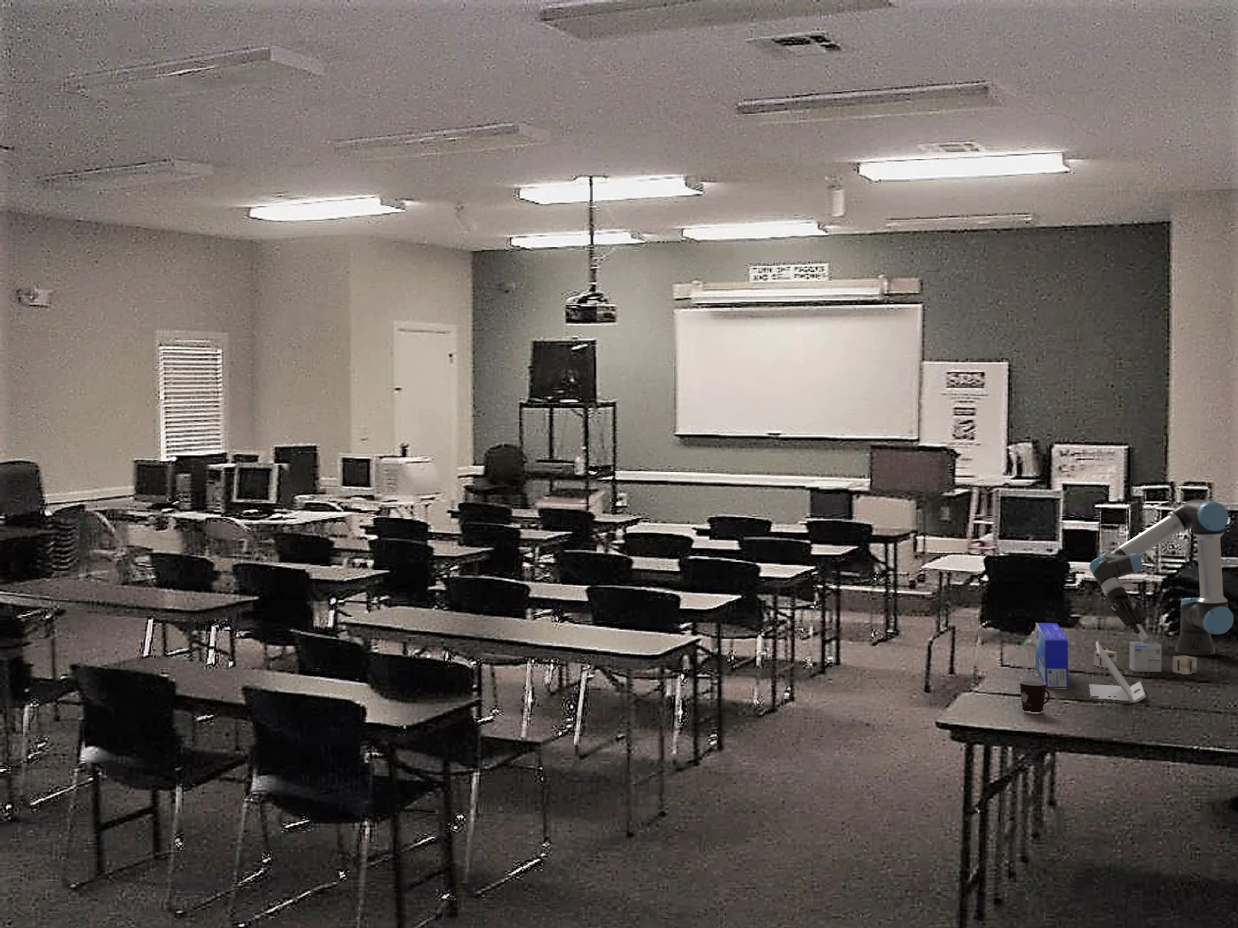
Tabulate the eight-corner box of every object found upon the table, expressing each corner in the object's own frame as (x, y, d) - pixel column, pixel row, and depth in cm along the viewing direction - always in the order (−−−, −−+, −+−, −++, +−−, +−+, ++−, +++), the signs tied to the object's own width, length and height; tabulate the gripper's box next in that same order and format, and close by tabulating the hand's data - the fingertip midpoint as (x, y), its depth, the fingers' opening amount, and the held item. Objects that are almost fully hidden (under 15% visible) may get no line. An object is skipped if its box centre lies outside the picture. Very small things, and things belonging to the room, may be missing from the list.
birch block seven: (1105, 664, 536) (1105, 649, 535) (1116, 667, 530) (1116, 652, 530) (1093, 665, 533) (1093, 650, 533) (1104, 668, 528) (1104, 653, 527)
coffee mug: (1016, 709, 455) (1016, 679, 455) (1041, 709, 455) (1042, 680, 454) (1025, 717, 443) (1026, 687, 443) (1051, 717, 443) (1052, 687, 443)
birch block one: (1184, 670, 524) (1184, 655, 524) (1196, 673, 518) (1197, 658, 518) (1172, 671, 522) (1172, 656, 521) (1184, 674, 516) (1184, 659, 516)
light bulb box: (1156, 668, 527) (1157, 641, 526) (1162, 672, 520) (1162, 644, 520) (1128, 668, 528) (1129, 640, 527) (1133, 671, 521) (1134, 644, 521)
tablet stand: (1090, 700, 471) (1091, 651, 470) (1088, 686, 495) (1089, 640, 494) (1146, 703, 466) (1147, 654, 465) (1141, 689, 489) (1142, 642, 489)
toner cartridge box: (1034, 668, 527) (1035, 622, 526) (1057, 669, 525) (1058, 622, 524) (1044, 689, 489) (1045, 638, 488) (1068, 690, 487) (1069, 639, 486)
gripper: (1122, 596, 544) (1152, 644, 529) (1097, 598, 539) (1126, 646, 524) (1132, 585, 538) (1163, 632, 524) (1107, 586, 533) (1137, 634, 519)
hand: (1145, 639), depth 524 cm, fingers closed
